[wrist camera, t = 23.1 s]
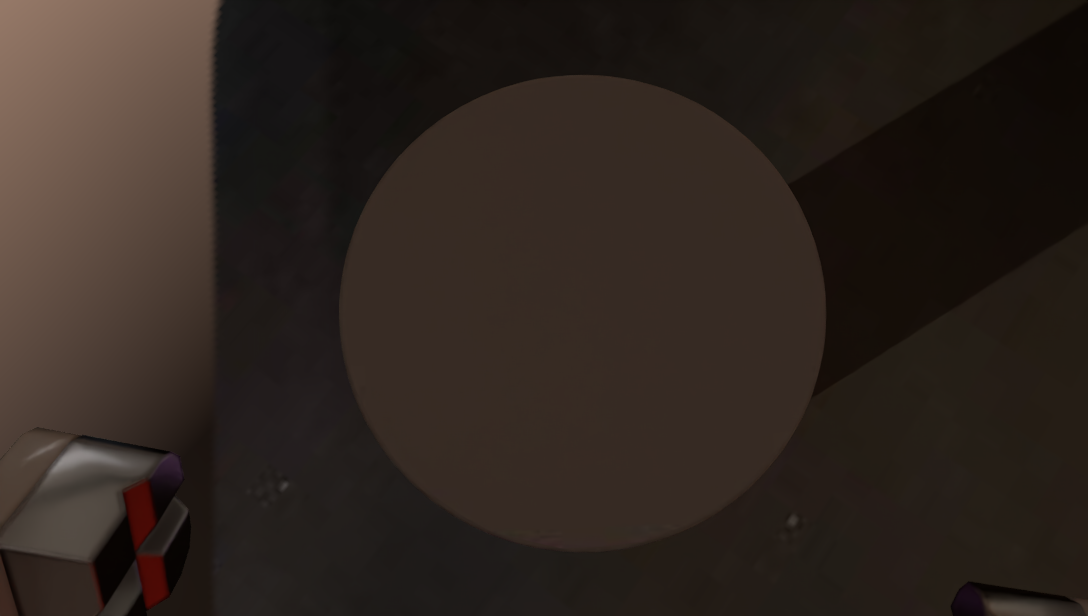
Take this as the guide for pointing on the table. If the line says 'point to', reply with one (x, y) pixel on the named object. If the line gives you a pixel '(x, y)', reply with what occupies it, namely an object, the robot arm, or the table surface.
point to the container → (582, 313)
